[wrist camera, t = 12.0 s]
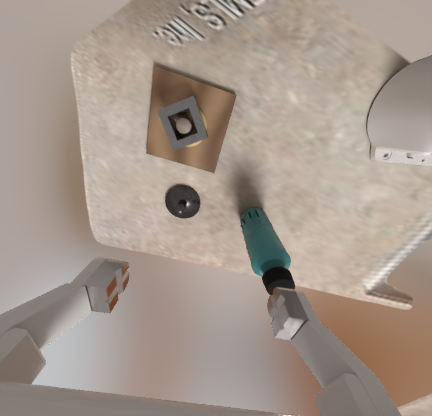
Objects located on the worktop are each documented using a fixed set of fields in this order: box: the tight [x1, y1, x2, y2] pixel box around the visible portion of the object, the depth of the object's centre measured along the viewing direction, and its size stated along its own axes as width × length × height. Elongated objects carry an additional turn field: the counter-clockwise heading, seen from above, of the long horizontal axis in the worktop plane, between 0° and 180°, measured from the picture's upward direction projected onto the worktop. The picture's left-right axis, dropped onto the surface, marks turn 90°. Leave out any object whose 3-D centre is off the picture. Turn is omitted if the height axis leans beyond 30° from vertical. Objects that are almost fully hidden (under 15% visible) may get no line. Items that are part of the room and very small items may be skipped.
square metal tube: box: [157, 96, 208, 150], centre depth 27 cm, size 6×6×4 cm
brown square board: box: [146, 66, 236, 173], centre depth 28 cm, size 14×14×6 cm
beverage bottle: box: [241, 208, 295, 295], centre depth 30 cm, size 6×7×20 cm
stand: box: [165, 186, 200, 218], centre depth 35 cm, size 8×8×5 cm
